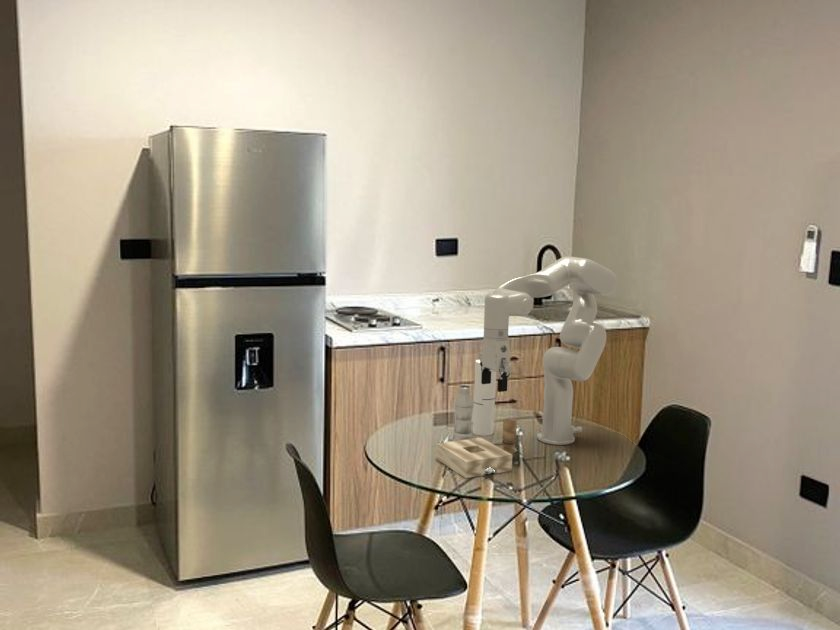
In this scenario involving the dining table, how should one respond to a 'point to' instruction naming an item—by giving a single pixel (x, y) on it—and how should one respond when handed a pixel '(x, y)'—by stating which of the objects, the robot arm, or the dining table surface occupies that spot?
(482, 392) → the cylindrical container
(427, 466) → the dining table surface
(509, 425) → the peg
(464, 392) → the plastic bottle
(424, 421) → the dining table surface
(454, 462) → the block
